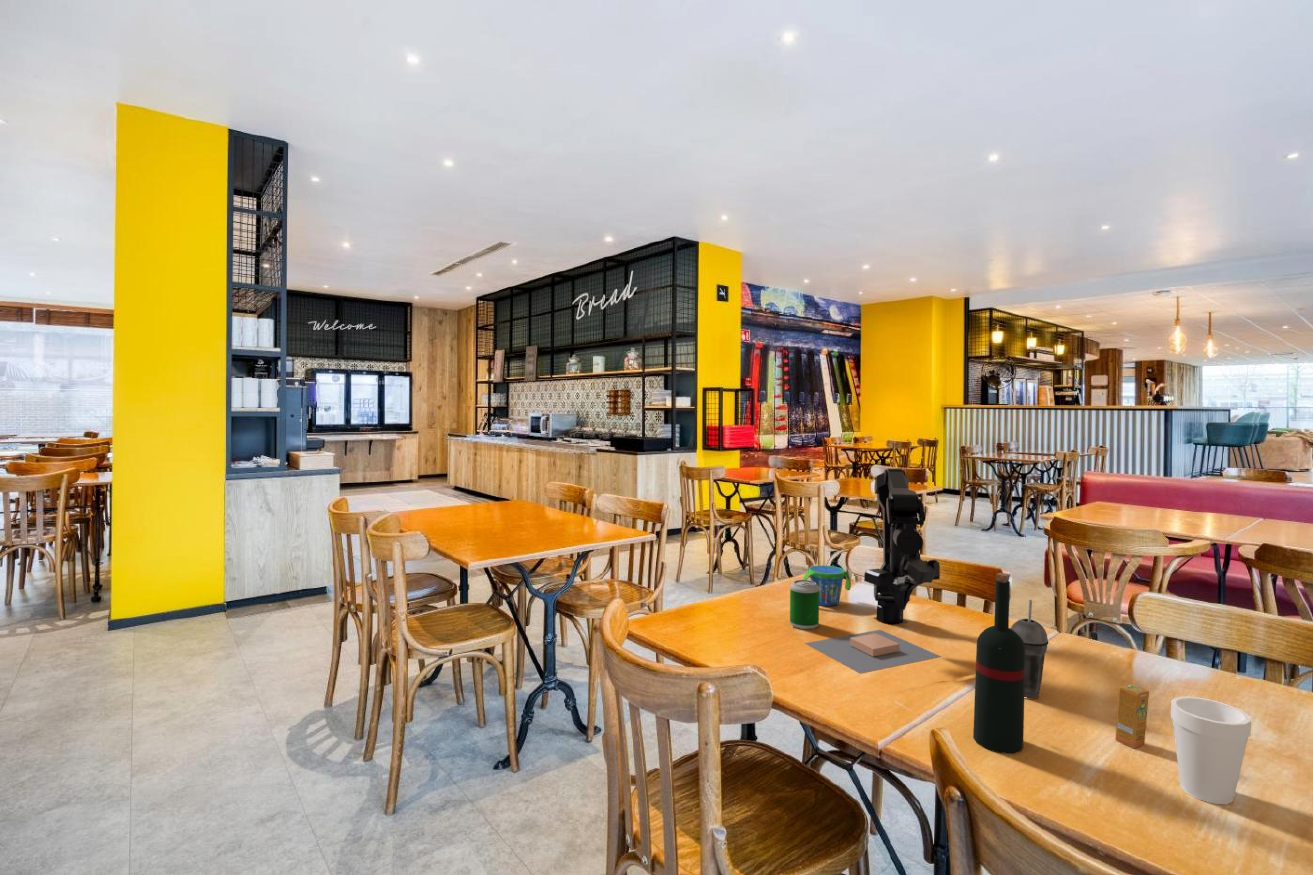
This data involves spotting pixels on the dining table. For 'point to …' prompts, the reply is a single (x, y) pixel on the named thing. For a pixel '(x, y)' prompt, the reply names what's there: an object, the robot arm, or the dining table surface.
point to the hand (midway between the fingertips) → (901, 609)
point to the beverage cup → (1032, 652)
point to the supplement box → (1132, 715)
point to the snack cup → (828, 583)
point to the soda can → (804, 604)
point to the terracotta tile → (874, 644)
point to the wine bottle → (1000, 680)
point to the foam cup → (1209, 747)
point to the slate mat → (867, 663)
